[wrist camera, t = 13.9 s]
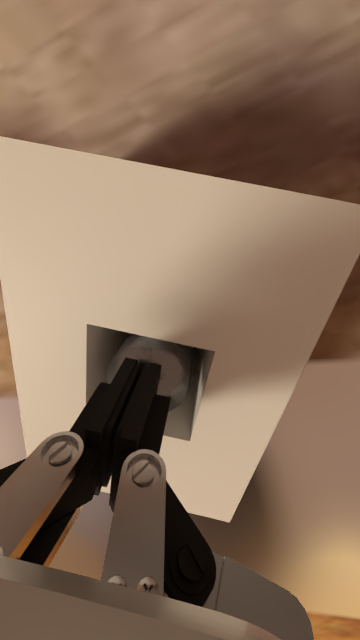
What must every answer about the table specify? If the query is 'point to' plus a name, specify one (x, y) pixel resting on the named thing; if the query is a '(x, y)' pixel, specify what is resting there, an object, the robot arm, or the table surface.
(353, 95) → the table surface
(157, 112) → the table surface
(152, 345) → the peg
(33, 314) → the socket block
